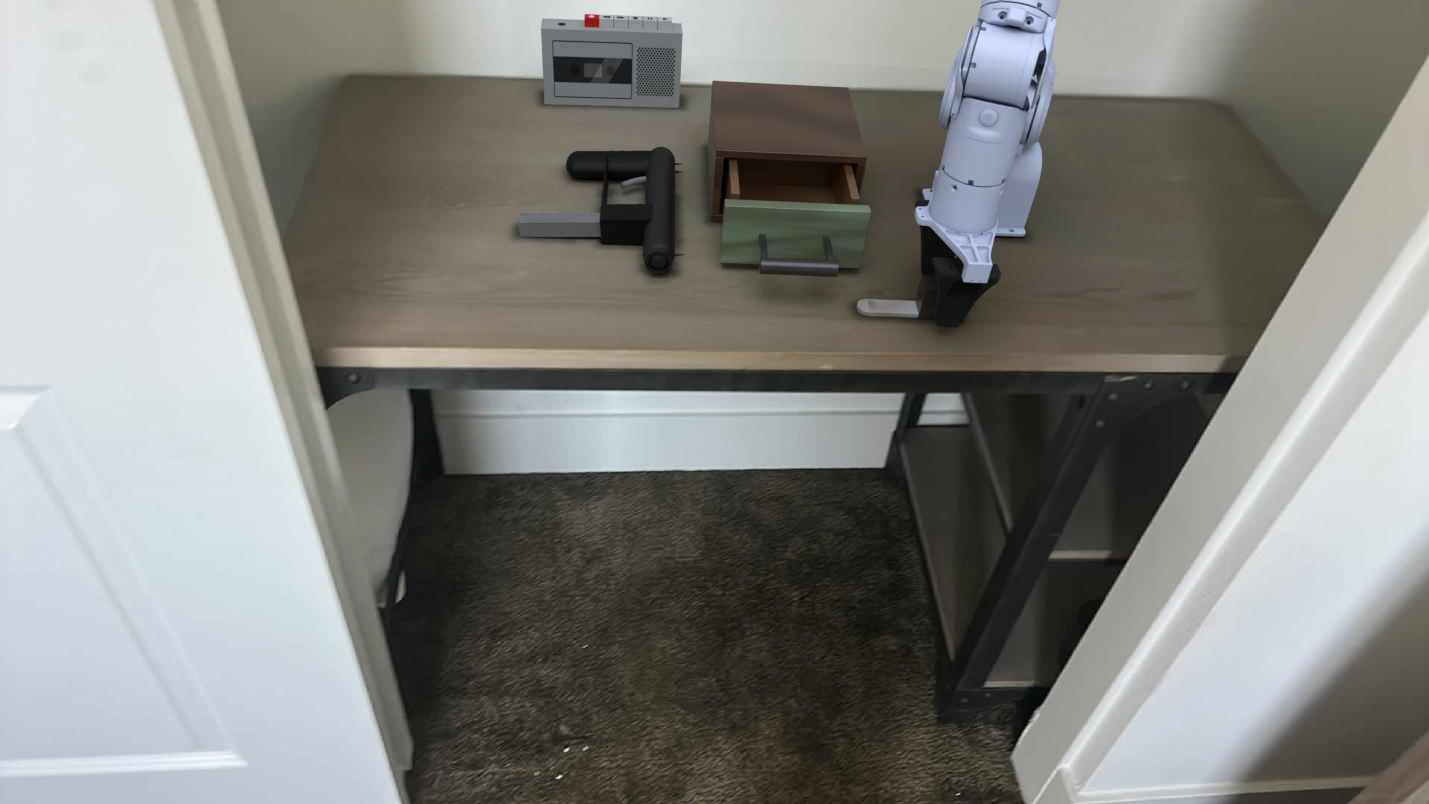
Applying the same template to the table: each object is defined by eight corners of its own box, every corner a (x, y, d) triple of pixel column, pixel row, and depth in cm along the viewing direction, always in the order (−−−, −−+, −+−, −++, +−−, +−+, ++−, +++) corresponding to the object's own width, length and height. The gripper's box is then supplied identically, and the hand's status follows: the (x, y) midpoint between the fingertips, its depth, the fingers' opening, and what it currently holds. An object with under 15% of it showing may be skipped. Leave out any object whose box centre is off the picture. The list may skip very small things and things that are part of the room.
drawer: (867, 303, 95) (879, 245, 90) (721, 297, 94) (727, 239, 90) (843, 192, 108) (852, 138, 104) (715, 187, 108) (720, 132, 103)
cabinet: (853, 227, 105) (867, 156, 100) (710, 221, 104) (716, 149, 99) (837, 154, 116) (848, 87, 110) (707, 148, 115) (712, 80, 110)
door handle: (509, 251, 94) (686, 250, 95) (532, 141, 109) (685, 141, 109) (514, 280, 96) (686, 279, 97) (535, 169, 111) (685, 169, 111)
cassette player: (544, 104, 120) (540, 19, 113) (545, 93, 122) (541, 9, 115) (679, 108, 122) (683, 24, 115) (677, 97, 123) (681, 14, 117)
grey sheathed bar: (953, 305, 97) (962, 276, 95) (958, 320, 95) (967, 290, 93) (854, 301, 96) (860, 272, 94) (857, 316, 95) (863, 286, 92)
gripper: (912, 124, 91) (884, 252, 100) (944, 215, 80) (909, 349, 89) (991, 128, 91) (956, 255, 100) (1033, 219, 81) (989, 352, 90)
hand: (939, 300), depth 95 cm, fingers open, 7 cm apart
